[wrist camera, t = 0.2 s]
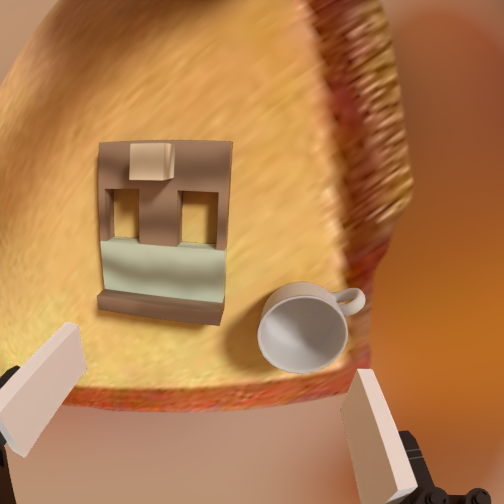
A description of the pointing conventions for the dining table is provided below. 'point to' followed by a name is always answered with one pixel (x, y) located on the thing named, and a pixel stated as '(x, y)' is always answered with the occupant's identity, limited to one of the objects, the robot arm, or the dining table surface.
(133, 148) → the block
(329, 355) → the teacup
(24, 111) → the dining table surface
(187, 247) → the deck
